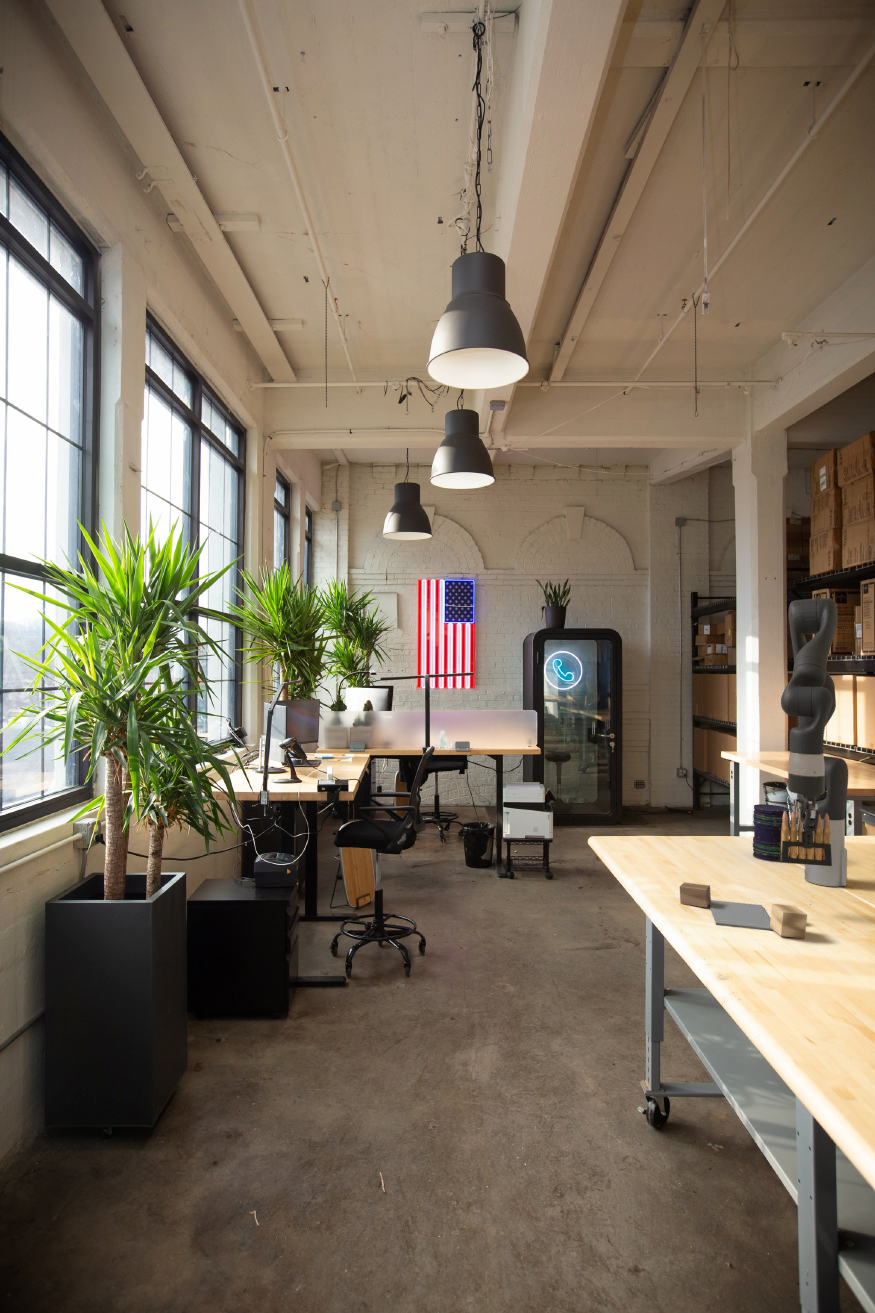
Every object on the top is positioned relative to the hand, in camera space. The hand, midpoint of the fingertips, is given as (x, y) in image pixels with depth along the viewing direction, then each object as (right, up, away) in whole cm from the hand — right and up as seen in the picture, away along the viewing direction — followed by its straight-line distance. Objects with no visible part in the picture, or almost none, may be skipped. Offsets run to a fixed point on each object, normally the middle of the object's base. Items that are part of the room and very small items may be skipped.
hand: (805, 846), depth 164 cm
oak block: (-12, -14, -15) cm, 24 cm away
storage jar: (+14, -16, +47) cm, 51 cm away
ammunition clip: (0, -4, 0) cm, 4 cm away
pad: (-17, -15, -4) cm, 23 cm away
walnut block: (-25, -14, +3) cm, 29 cm away
